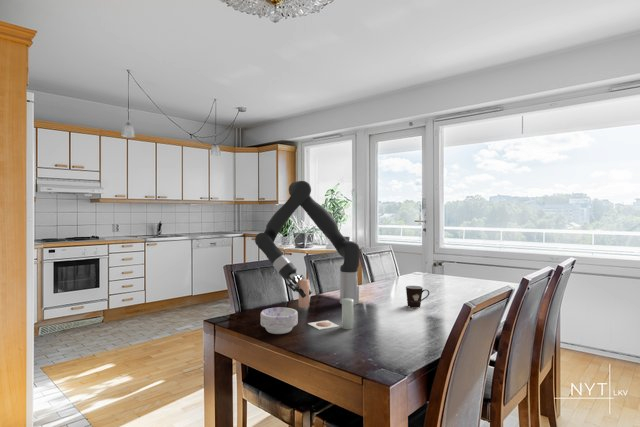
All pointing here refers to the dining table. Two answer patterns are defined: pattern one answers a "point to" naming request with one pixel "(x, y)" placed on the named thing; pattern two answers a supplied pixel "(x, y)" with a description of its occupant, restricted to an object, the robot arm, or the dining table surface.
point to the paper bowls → (279, 319)
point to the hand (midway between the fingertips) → (307, 295)
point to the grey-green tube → (347, 313)
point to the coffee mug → (415, 295)
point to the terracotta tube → (305, 287)
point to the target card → (323, 325)
